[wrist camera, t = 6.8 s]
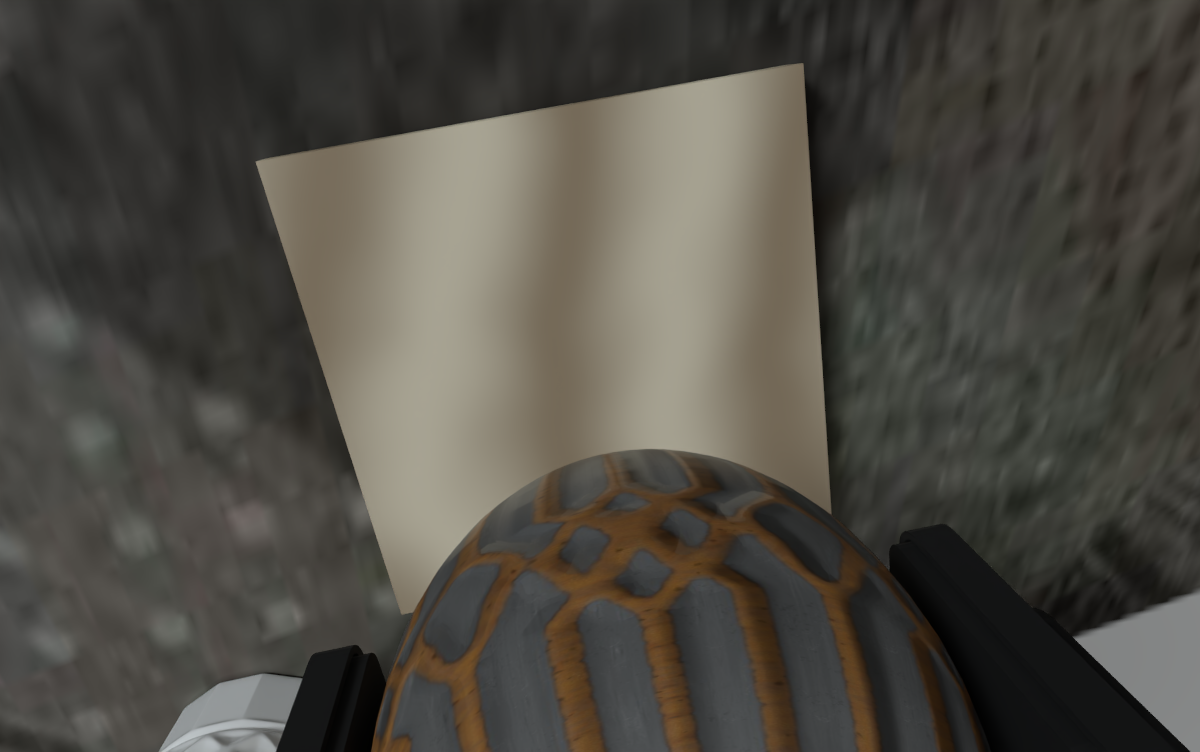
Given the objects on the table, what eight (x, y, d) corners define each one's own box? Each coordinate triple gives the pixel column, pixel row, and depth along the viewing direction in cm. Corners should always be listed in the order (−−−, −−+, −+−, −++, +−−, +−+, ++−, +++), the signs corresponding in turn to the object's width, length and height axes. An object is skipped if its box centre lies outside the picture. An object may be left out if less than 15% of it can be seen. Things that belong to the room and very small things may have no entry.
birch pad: (787, 64, 20) (803, 63, 19) (818, 508, 26) (832, 527, 24) (269, 157, 20) (255, 161, 19) (406, 591, 25) (401, 614, 24)
